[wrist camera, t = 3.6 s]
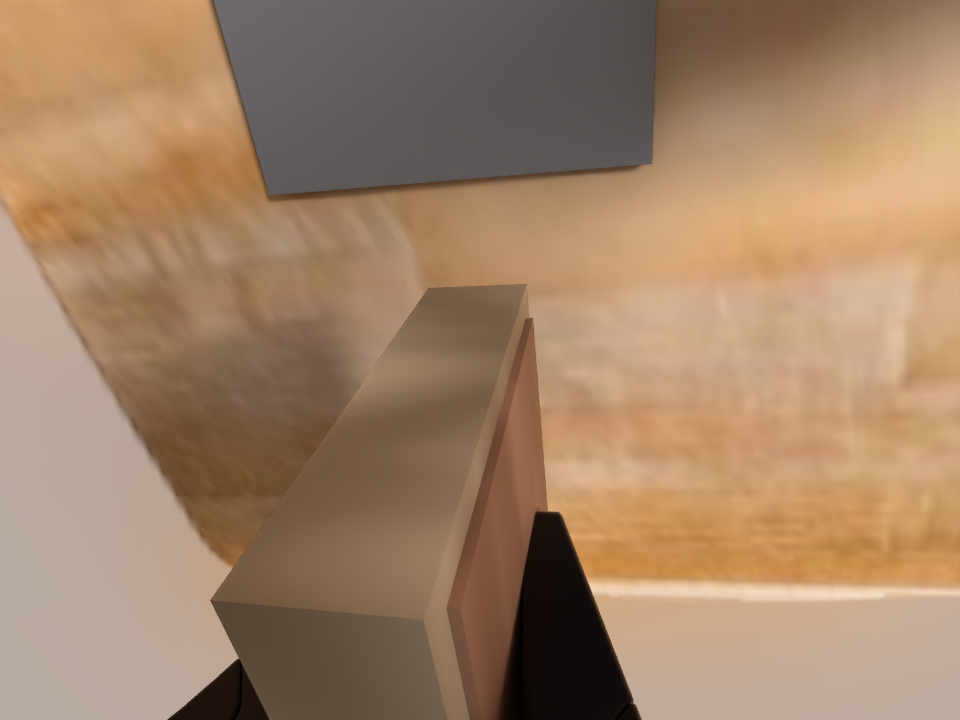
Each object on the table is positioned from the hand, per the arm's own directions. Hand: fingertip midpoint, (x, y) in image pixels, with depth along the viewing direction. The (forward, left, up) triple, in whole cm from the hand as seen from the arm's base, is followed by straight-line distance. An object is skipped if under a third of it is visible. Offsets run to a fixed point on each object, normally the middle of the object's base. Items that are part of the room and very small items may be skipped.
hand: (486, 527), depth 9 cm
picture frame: (0, 0, -2) cm, 2 cm away
